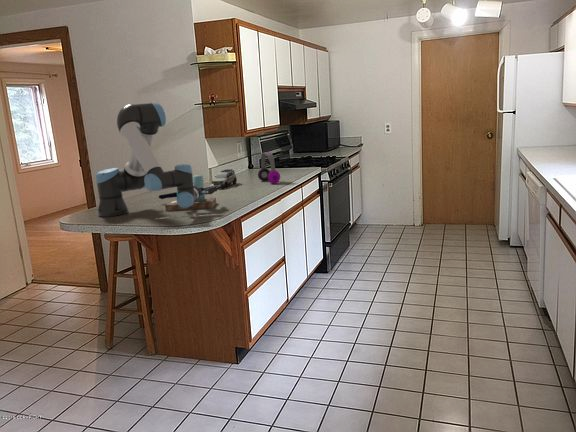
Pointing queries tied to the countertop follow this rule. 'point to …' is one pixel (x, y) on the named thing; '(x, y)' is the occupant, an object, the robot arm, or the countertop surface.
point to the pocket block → (196, 205)
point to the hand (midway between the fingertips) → (200, 187)
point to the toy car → (225, 178)
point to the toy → (170, 195)
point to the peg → (199, 186)
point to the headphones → (265, 173)
